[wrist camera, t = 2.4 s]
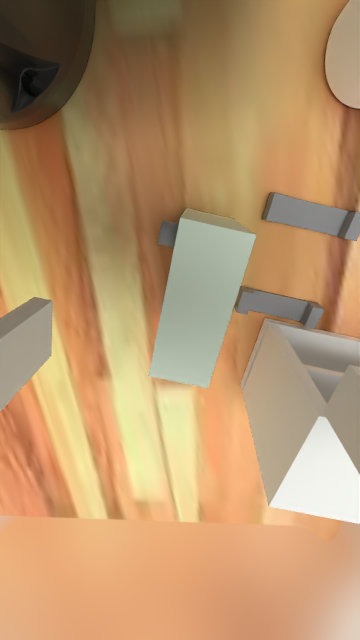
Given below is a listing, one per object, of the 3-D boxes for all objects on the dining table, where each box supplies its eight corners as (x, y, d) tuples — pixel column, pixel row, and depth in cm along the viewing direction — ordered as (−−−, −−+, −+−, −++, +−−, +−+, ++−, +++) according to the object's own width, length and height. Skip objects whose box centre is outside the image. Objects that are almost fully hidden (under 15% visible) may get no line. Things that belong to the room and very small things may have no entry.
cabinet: (270, 192, 22) (353, 192, 11) (448, 234, 23) (717, 279, 11) (211, 377, 30) (221, 497, 18) (346, 405, 31) (440, 539, 19)
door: (172, 204, 23) (157, 212, 14) (233, 218, 23) (256, 235, 14) (152, 312, 27) (130, 372, 18) (204, 323, 28) (207, 388, 18)
